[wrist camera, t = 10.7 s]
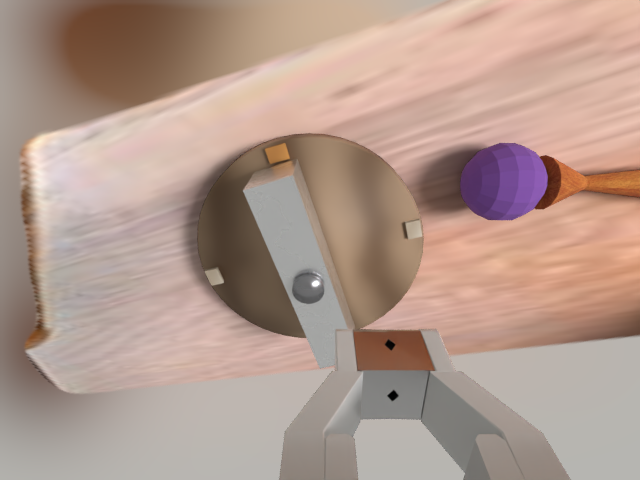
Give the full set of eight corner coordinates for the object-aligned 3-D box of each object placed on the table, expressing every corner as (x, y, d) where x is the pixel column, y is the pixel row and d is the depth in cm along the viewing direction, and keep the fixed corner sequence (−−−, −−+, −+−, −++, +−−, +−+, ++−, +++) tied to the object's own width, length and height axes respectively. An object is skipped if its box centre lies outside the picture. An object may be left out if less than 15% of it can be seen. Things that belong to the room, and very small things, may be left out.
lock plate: (398, 103, 27) (406, 106, 25) (430, 302, 36) (438, 319, 33) (166, 169, 29) (153, 178, 27) (249, 340, 38) (244, 358, 36)
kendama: (707, 234, 28) (468, 236, 26) (647, 196, 33) (441, 196, 31) (768, 166, 24) (496, 163, 23) (691, 134, 29) (461, 130, 27)
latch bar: (254, 172, 27) (240, 193, 22) (297, 158, 26) (292, 177, 22) (320, 333, 34) (320, 373, 30) (354, 325, 34) (359, 365, 29)
